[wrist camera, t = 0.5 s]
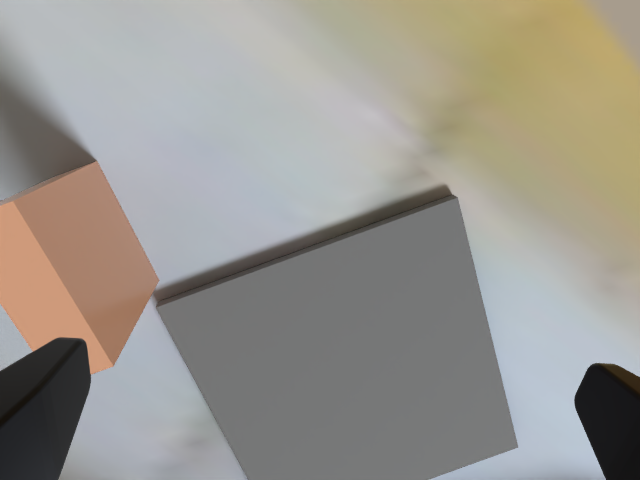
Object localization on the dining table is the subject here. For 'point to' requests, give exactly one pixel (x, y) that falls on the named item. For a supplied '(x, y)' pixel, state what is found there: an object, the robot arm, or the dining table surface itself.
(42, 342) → the tile
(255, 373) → the mat
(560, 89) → the dining table surface
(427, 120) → the dining table surface
